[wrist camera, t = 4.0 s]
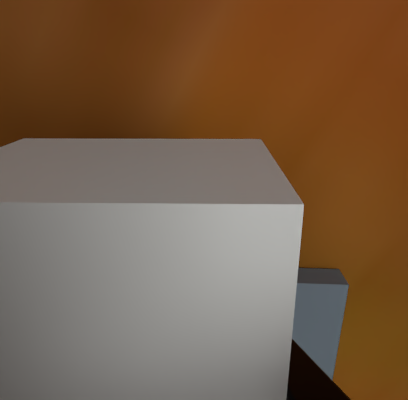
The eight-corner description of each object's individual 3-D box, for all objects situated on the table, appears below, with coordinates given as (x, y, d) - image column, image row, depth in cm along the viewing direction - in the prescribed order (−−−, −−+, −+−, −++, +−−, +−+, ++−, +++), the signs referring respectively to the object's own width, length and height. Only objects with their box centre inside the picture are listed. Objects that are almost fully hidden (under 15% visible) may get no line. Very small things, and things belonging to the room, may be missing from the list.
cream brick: (261, 139, 8) (303, 203, 4) (246, 425, 11) (265, 625, 7) (24, 138, 8) (-145, 200, 4) (68, 421, 11) (-11, 616, 7)
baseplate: (338, 269, 20) (348, 284, 18) (311, 439, 24) (317, 463, 22) (107, 261, 20) (99, 277, 18) (118, 433, 24) (112, 456, 22)
